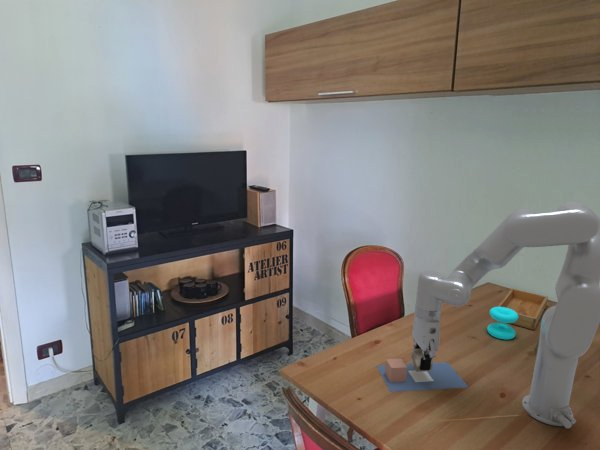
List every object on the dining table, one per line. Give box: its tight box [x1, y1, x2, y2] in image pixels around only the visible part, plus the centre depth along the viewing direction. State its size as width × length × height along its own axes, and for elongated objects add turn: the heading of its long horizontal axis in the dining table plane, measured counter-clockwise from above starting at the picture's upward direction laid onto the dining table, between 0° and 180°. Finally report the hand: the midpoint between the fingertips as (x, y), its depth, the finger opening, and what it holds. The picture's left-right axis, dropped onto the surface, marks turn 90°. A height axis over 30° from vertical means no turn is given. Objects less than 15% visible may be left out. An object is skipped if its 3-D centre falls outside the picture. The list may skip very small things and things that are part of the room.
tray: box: [496, 288, 549, 331], centre depth 183 cm, size 31×15×6 cm, turn 142°
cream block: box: [409, 348, 434, 372], centre depth 132 cm, size 5×5×5 cm
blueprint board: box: [376, 361, 469, 393], centre depth 134 cm, size 14×25×1 cm, turn 97°
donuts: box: [486, 306, 518, 341], centre depth 162 cm, size 10×10×10 cm
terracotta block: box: [385, 358, 407, 383], centre depth 132 cm, size 5×5×5 cm
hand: (421, 364), depth 133 cm, fingers closed on cream block, 4 cm apart
